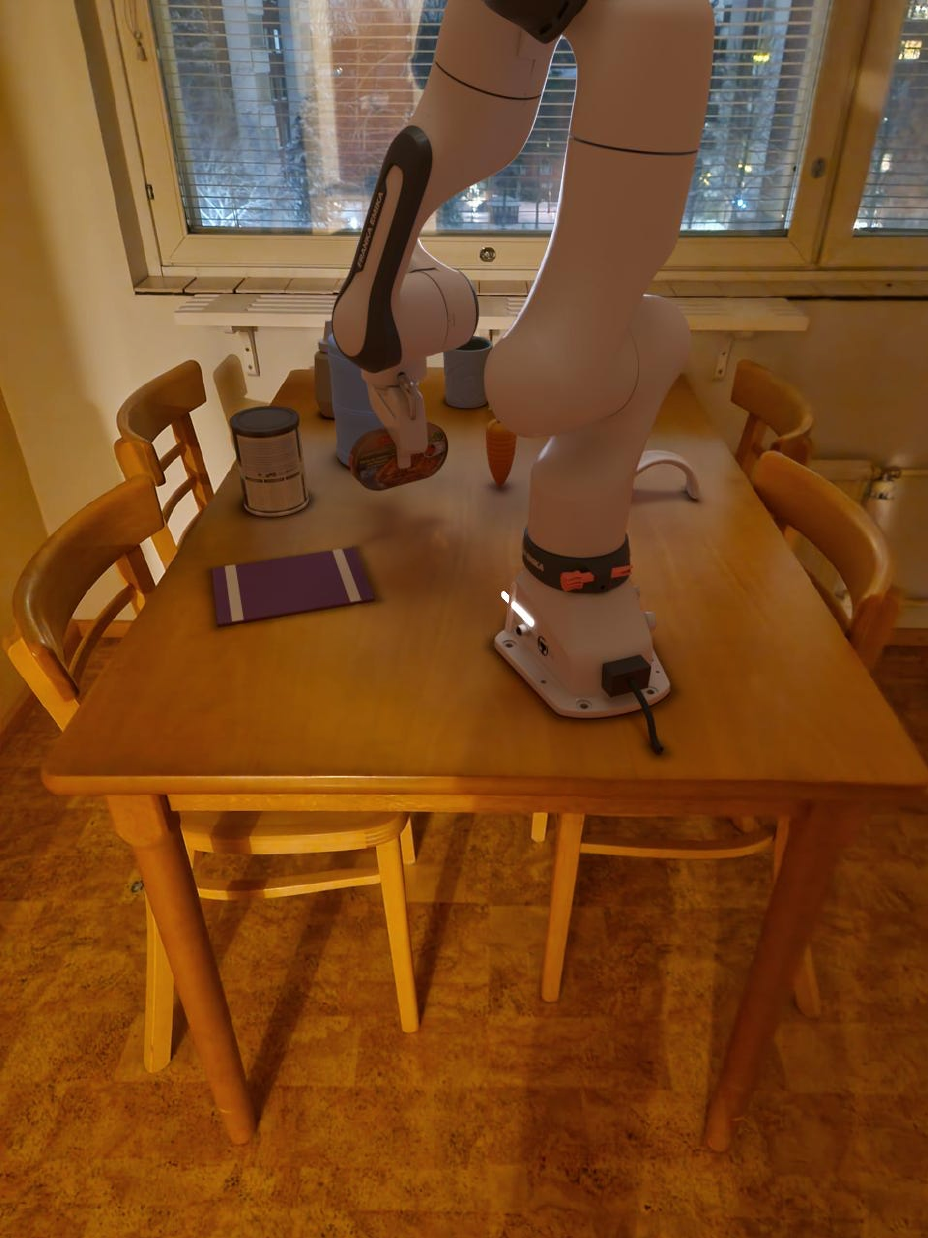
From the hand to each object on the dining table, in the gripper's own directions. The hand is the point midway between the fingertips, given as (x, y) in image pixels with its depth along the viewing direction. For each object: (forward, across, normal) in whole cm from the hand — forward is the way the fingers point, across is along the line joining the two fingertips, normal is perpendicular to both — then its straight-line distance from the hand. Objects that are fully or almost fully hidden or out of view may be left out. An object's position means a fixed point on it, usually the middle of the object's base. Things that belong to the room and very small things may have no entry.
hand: (399, 460), depth 116 cm
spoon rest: (+12, +1, -37) cm, 38 cm away
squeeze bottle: (+10, +51, +1) cm, 52 cm away
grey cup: (+10, +50, -26) cm, 57 cm away
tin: (+3, 0, 0) cm, 3 cm away
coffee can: (+11, +15, +17) cm, 25 cm away
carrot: (+11, +10, -19) cm, 24 cm away
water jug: (+11, +28, -3) cm, 30 cm away
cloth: (+11, -11, +18) cm, 24 cm away
